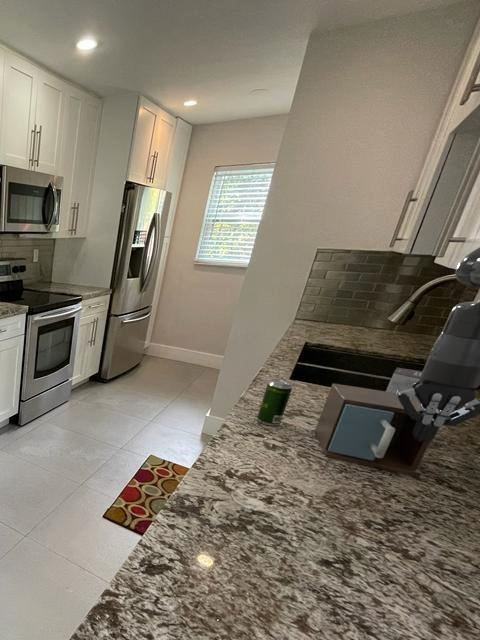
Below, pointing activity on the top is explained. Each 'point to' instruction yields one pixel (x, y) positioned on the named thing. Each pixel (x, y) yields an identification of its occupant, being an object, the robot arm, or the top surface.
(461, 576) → the top surface
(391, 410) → the display cabinet
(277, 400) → the beer can
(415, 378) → the coffee box
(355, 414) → the glass door
